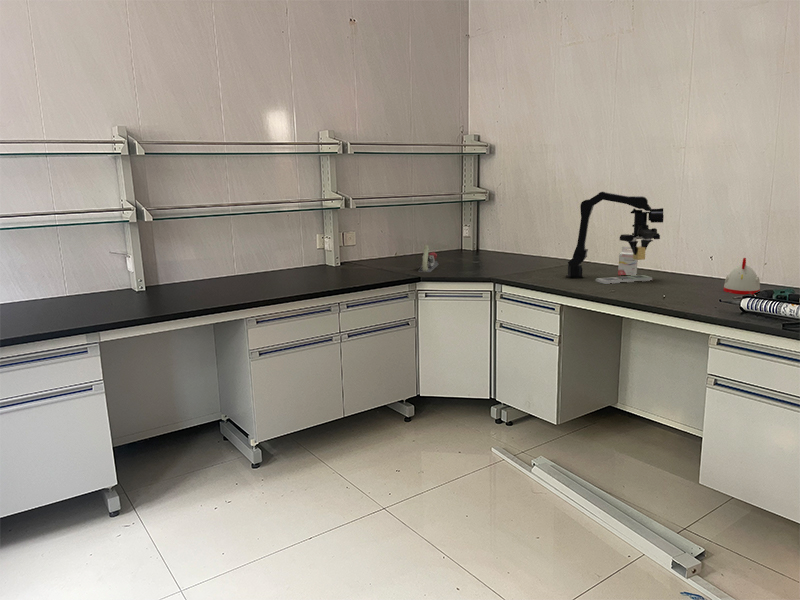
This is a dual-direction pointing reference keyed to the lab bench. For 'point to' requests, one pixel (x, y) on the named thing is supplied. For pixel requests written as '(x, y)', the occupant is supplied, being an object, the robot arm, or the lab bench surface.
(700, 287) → the lab bench surface
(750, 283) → the kitchen timer
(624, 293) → the lab bench surface
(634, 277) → the grey compartment frame
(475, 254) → the lab bench surface
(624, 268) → the ink cartridge box
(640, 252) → the brass block
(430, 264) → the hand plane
